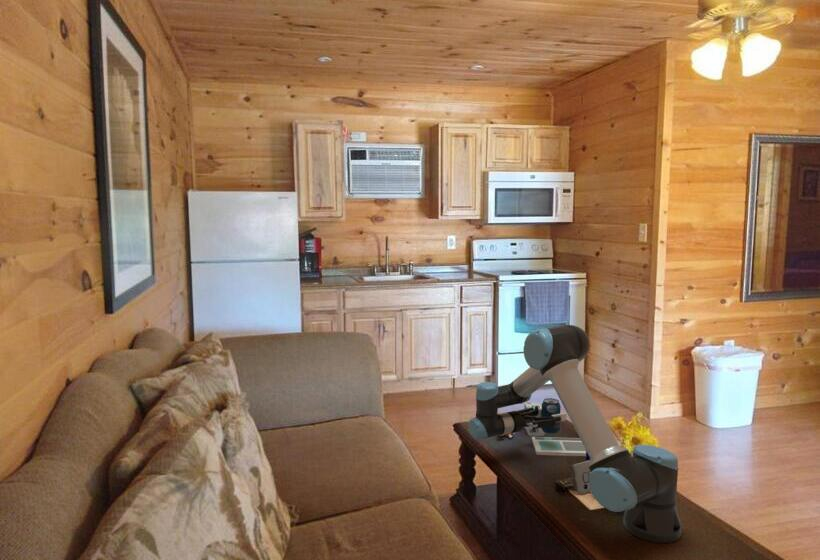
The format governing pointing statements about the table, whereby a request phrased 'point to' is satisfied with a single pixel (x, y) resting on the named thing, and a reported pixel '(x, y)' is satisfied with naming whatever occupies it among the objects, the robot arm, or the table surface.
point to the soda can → (549, 409)
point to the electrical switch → (581, 477)
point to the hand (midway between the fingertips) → (559, 413)
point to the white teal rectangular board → (558, 446)
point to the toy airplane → (509, 435)
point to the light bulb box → (529, 429)
